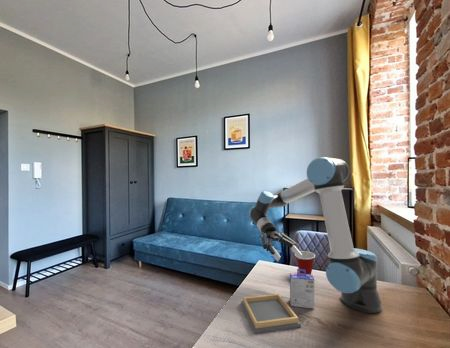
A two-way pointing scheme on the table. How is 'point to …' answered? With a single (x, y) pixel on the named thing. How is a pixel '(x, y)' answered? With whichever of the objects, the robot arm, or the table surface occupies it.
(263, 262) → the table surface
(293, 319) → the tray
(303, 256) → the plastic cup
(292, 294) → the ink cartridge box
